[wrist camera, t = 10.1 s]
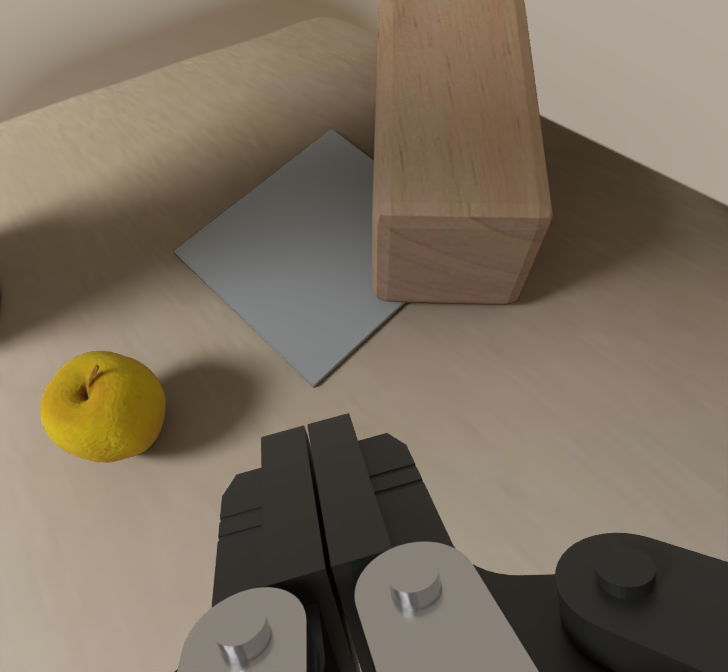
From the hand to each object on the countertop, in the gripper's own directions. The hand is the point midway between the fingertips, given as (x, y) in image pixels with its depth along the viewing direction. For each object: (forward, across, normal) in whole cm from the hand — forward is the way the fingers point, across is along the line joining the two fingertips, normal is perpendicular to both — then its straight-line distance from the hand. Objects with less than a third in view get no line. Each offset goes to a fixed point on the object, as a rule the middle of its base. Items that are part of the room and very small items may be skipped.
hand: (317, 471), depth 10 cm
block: (+26, -10, +5) cm, 28 cm away
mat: (+35, -3, +4) cm, 36 cm away
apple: (+28, +12, +11) cm, 33 cm away
